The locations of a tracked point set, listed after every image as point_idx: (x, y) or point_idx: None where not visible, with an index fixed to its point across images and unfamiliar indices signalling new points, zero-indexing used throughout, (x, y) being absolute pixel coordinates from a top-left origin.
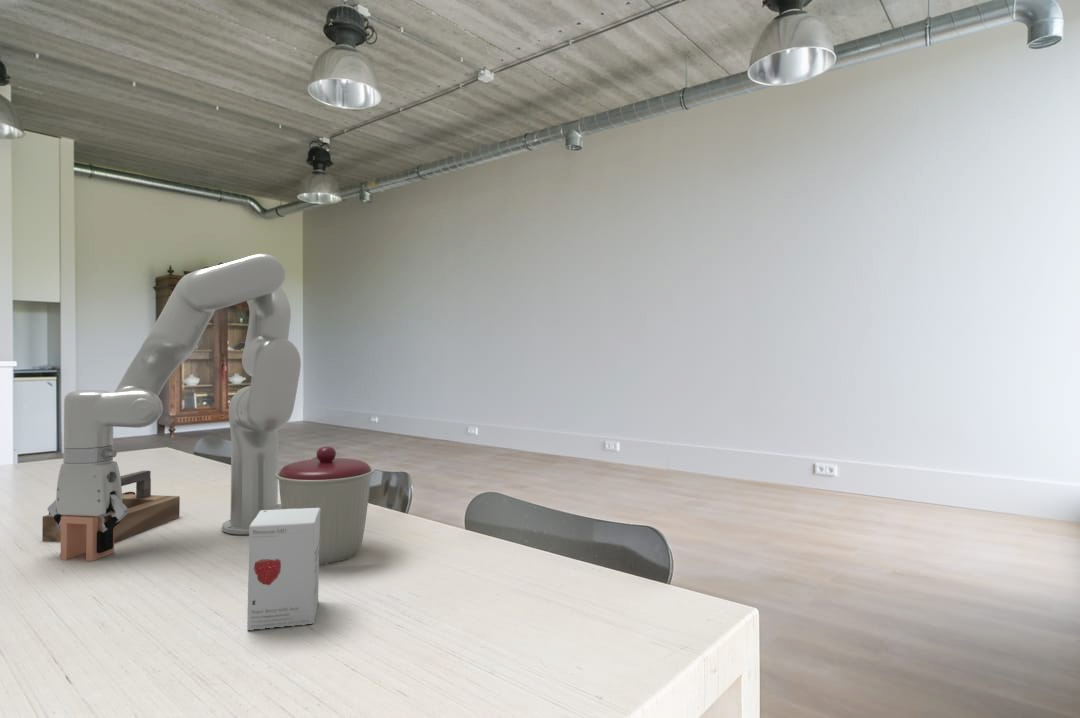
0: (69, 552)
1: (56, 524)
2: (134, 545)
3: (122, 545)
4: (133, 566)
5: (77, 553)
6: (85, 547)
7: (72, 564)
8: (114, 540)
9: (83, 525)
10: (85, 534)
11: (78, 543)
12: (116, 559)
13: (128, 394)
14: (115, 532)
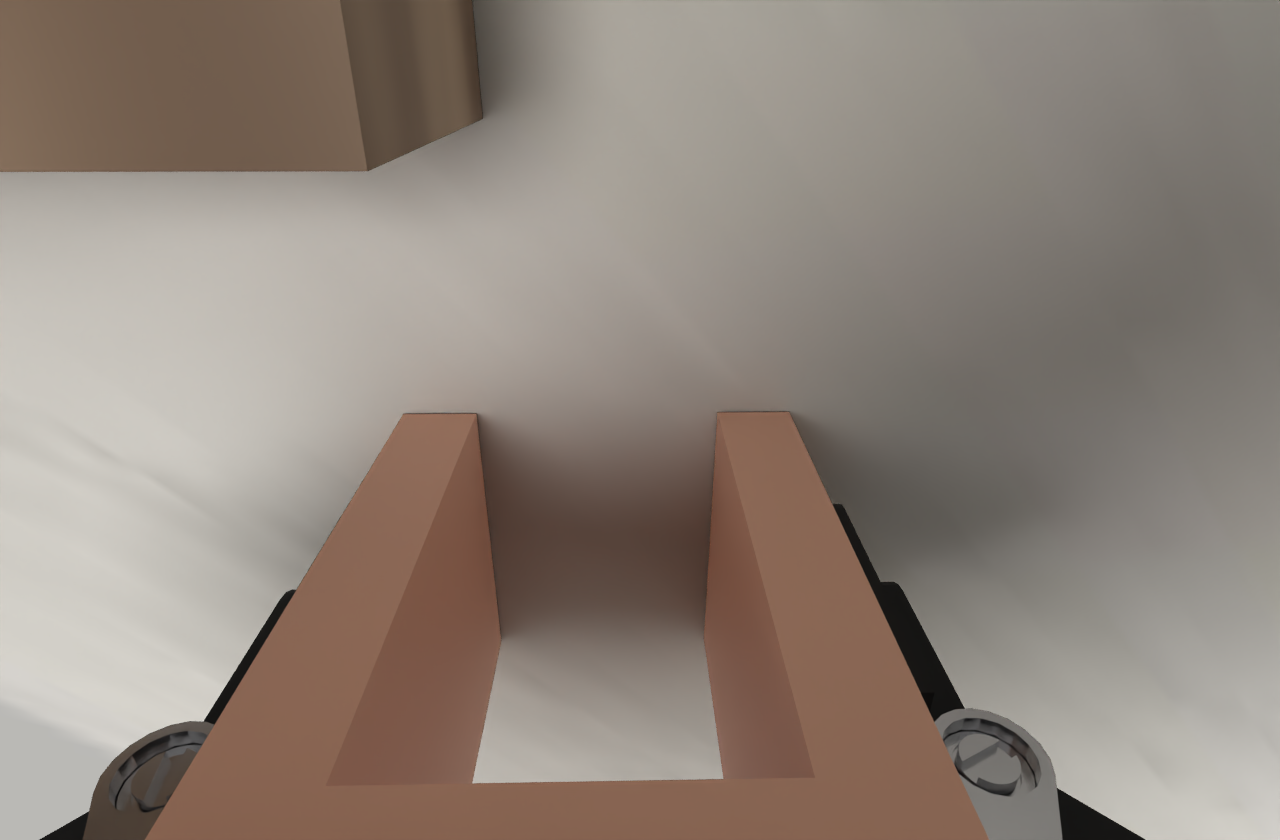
0: (490, 662)
1: None
2: (860, 124)
3: (694, 148)
4: (1203, 682)
5: (484, 554)
6: (471, 490)
7: (656, 706)
8: (468, 36)
9: (398, 749)
10: (432, 596)
11: (462, 618)
12: (955, 573)
13: None
14: (440, 9)
